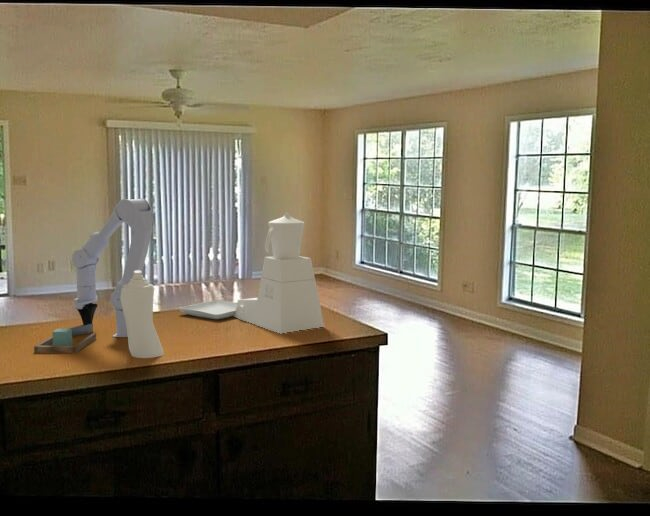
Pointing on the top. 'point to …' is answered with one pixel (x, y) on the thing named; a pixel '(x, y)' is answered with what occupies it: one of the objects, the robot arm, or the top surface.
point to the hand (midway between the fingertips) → (87, 326)
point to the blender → (284, 284)
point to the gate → (81, 329)
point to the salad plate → (211, 309)
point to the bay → (47, 348)
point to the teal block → (62, 337)
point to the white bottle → (140, 317)
